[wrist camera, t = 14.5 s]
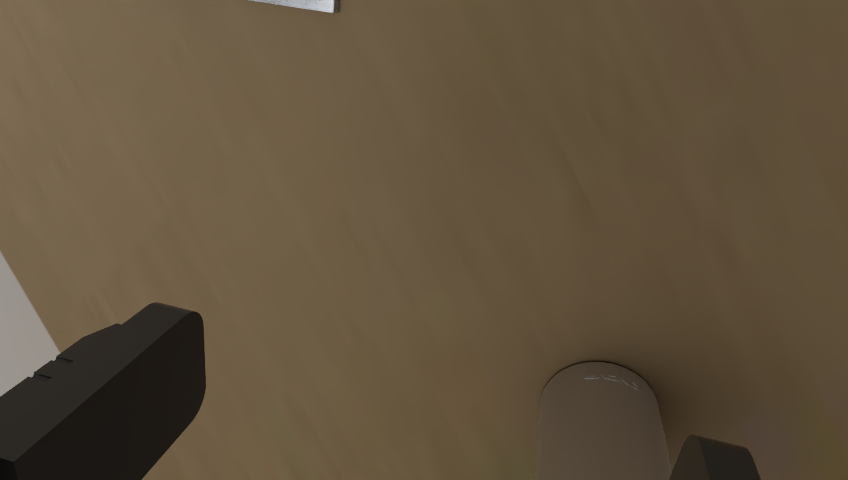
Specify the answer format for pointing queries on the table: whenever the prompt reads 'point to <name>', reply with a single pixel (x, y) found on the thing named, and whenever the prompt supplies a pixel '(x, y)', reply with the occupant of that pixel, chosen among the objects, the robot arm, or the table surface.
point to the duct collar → (308, 4)
